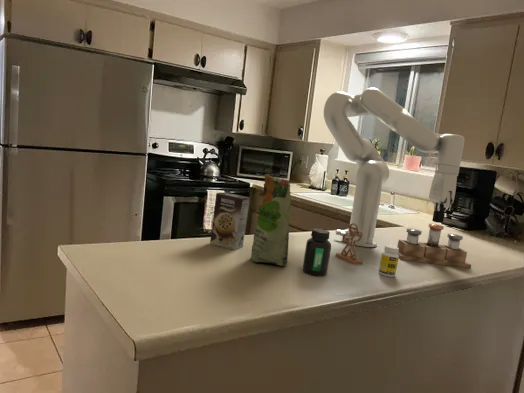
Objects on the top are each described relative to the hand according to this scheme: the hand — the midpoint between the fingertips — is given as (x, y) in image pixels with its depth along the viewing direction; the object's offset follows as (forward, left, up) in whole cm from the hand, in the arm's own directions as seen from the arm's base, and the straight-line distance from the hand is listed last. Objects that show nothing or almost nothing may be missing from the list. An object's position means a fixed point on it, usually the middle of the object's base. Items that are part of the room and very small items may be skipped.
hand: (437, 222), depth 154 cm
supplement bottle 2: (-24, -25, -14) cm, 37 cm away
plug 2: (+7, 0, -12) cm, 14 cm away
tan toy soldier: (-33, -14, -14) cm, 39 cm away
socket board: (0, 0, -14) cm, 14 cm away
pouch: (-60, -27, -14) cm, 67 cm away
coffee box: (-72, -14, -14) cm, 75 cm away
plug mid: (0, 0, -9) cm, 9 cm away
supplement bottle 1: (-47, -32, -14) cm, 59 cm away
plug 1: (-8, 0, -12) cm, 14 cm away
